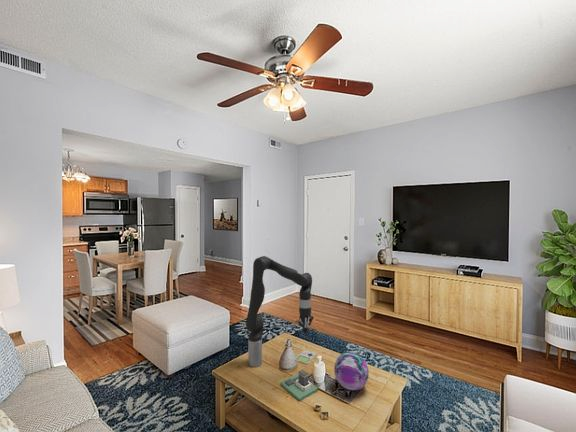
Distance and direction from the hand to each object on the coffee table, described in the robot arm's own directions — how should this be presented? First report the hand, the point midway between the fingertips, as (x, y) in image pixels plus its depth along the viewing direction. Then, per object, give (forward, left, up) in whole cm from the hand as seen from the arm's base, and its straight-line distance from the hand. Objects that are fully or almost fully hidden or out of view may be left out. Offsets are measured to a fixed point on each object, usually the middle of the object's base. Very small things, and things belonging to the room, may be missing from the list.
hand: (305, 333), depth 170 cm
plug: (+6, -7, -27) cm, 29 cm away
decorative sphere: (+23, +16, -29) cm, 40 cm away
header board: (+4, -9, -29) cm, 31 cm away
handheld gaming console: (-18, +16, -30) cm, 38 cm away
